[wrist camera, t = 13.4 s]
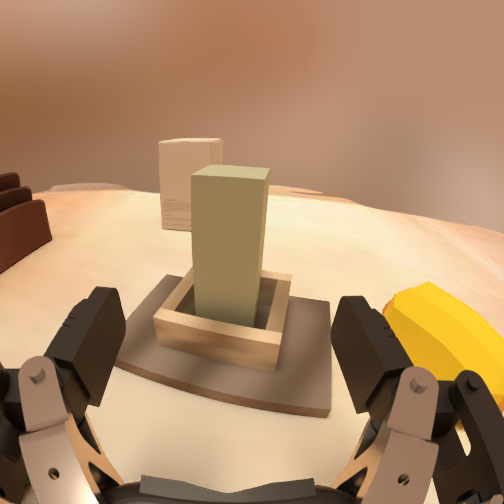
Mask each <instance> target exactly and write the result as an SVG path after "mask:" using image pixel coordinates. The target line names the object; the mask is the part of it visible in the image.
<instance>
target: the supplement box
mask: <svg viewBox="0 0 504 504" xmlns="http://www.w3.org/2000/svg"><path fill="white" fill-rule="evenodd" d="M222 154H223V139H219V138H184V139H173V140H167V141H161V142H159V176H160V199H161V215H162V228H163V229H174V230H187V231H191V174H193V173H195V172H197V171H199V170H201V169H203V168H205V167H207V166H209V165H222V159H223V158H222V157H223V156H222Z"/></svg>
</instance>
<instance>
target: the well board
mask: <svg viewBox="0 0 504 504" xmlns="http://www.w3.org/2000/svg"><path fill="white" fill-rule="evenodd" d="M291 278H292V275H290V274H284V273H277V272H271V271H264V270H261V280H260V291H259V302H258V311H257V317H256V322H255V328H251V327H245V326H240V325H235V324H230V323H225V322H220V321H215V320H210V319H206V318H201V317H197V316H196V309H195V295H194V278H193V267H192V268H191V269H190V270H189V272H188V273H187V274H186V275H185V277H184V278H183V277H178V276H173V275H168V274H167V275H166V276H165V277H164V278H163V279H162V280H161V281H160V282H159V283H158V285H157V286H156V287H155V288H154V289H153V290H152V291H151V292H150V294H149V295H148V296H147V297H146V298H145V299H144V300H143V301H142V303H141V304H140V305H139V306H138V307H137V308H136V309H135V311H134V312H133V313H132V314H131V315H130V316H129V318H128V319H127V320H126V333H125V337H124V340H123V343H122V345H121V348H120V350H119V353H118V355H117V358H116V361H115V363H114V366H117V367H119V368H122V369H124V370H127V371H129V372H132V373H134V374H137V375H139V376H142V377H145V378H147V379H150V380H153V381H156V382H159V383H162V384H165V385H168V386H171V387H174V388H177V389H180V390H183V391H187V392H190V393H194V394H197V395H201V396H205V397H208V398H212V399H216V400H220V401H224V402H229V403H233V404H238V405H242V406H247V407H252V408H258V409H263V410H269V411H275V412H281V413H288V414H296V415H304V416H314V417H325V418H326V417H327V415H328V414H329V412H330V410H331V325H330V303H329V302H328V301H321V300H314V299H307V298H300V297H293V296H289V291H290V285H291Z"/></svg>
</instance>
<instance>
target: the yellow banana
mask: <svg viewBox="0 0 504 504" xmlns="http://www.w3.org/2000/svg"><path fill="white" fill-rule="evenodd" d="M382 315H383V316H384V317H385V318H386V320H387V322H388V323H389V325H390V326H391V329H392V330H393V331H394V333H395V334H396V337H397V338H398V339H399V341H400V343H401V344H402V346H403V348H404V349H405V351H406V353H407V354H408V356H409V358H410V360H411V361H412V363H413V365H414V366H418V367H422V368H425V369H427V370H429V371H430V372H431V373H432V374H433V375H434V376H435V378H436V379H437V380H447V381H454V380H455V378H456V377H457V376H458V374H459V373H460V372H461V371H463V370H471V371H474V372H476V373H477V374H479V375H480V376H481V377H482V379H483V380H484V382H485V384H486V385H487V387H488V389H489V391H490V392H491V394H492V396H493V398H494V400H495V402H496V403H497V405H498V407H499V409H500V411H501V413H503V410H504V339H503V338H502V337H501V336H500V335H499V333H498V332H497V331H496V330H495V329H494V328H493V327H492V326H491V325H490V324H489V323H488V322H486V321H485V320H484V319H483V318H482V317H481V316H480V315H479V314H478V313H477V312H476V311H475V310H473V309H472V308H470V307H469V306H467V305H466V304H464V303H463V302H461V301H460V300H458V299H457V298H455V297H453V296H452V295H450V294H449V293H447V292H446V291H444V290H442V289H441V288H439V287H437V286H436V285H434V284H433V283H431V282H429V281H428V282H426V283H424V284H421V285H419V286H417V287H414V288H409V289H407V290H404V291H402V292H399V293H397V294H395V295H394V296H393V298H392V300H390V301H389V302H388V303H387V304H386V305H385V307H384V309H383V312H382Z"/></svg>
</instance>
